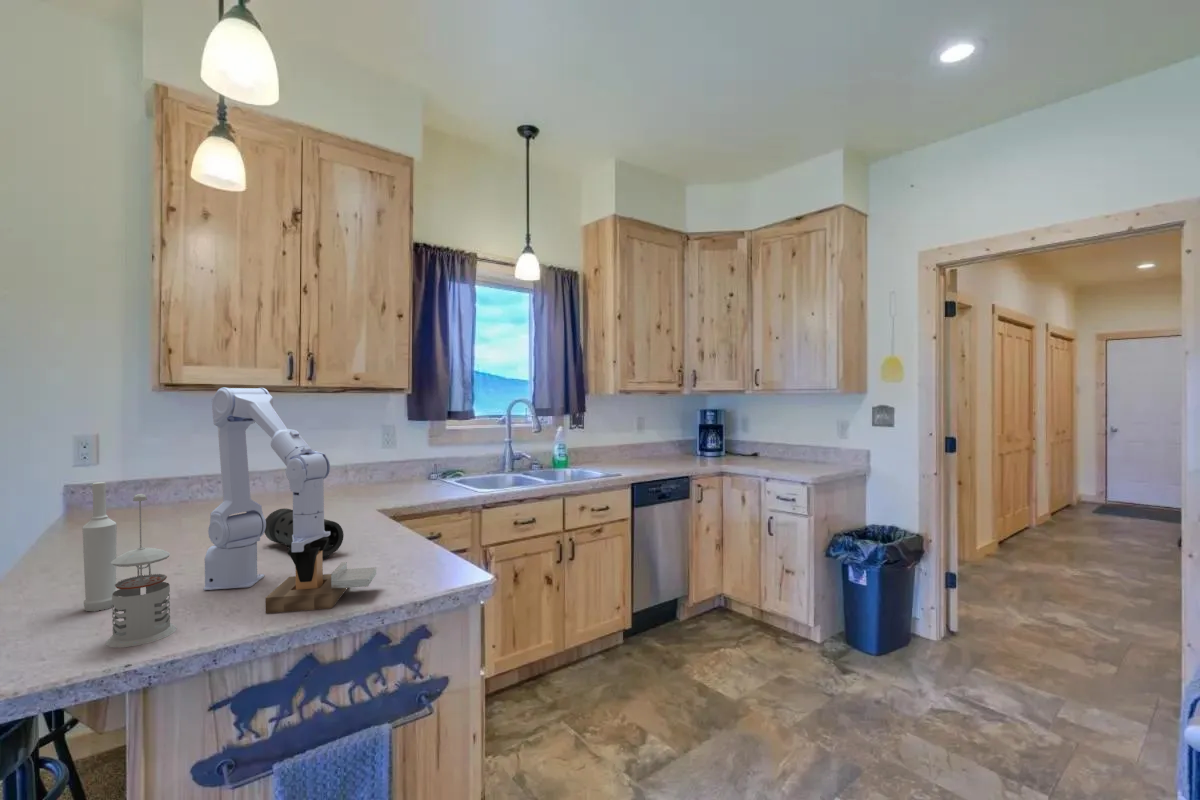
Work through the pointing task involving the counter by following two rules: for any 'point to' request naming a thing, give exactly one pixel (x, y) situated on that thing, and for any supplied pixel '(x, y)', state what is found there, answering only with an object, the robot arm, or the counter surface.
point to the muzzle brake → (282, 530)
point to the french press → (141, 598)
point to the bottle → (99, 554)
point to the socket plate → (302, 596)
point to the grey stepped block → (351, 576)
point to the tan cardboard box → (317, 575)
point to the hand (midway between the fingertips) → (309, 577)
